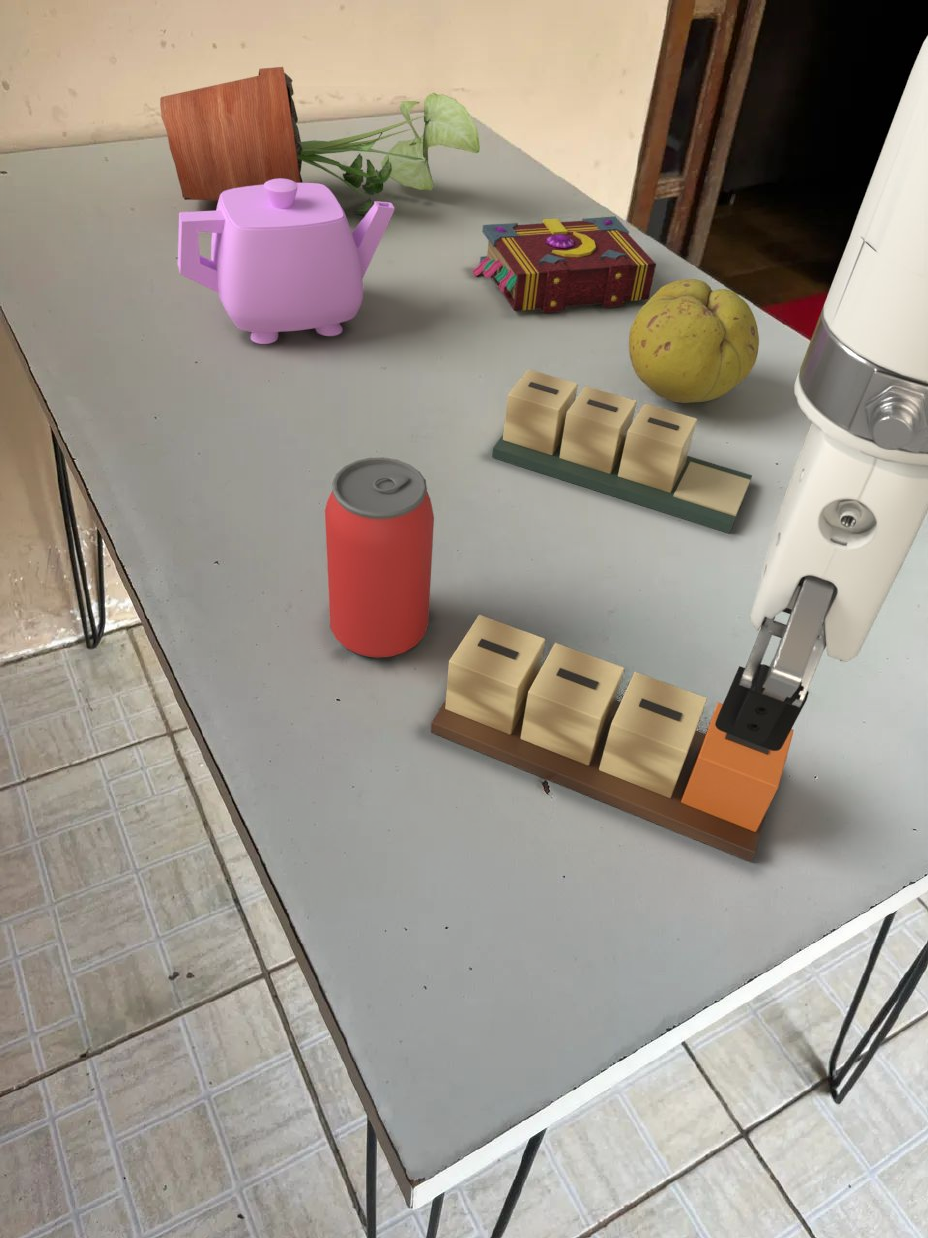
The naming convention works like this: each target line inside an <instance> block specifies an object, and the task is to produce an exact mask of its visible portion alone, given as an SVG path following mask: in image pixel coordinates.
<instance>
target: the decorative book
mask: <svg viewBox="0 0 928 1238" xmlns="http://www.w3.org/2000/svg"><path fill="white" fill-rule="evenodd" d="M481 232H482V233H483V235H484V236H485V238H486V239H487V240H488V241H487V251H486V252H487V253H486V256H480V257H479V265H477V266H476V267H475V268H473V269H472V270H471V272H472V274H473V275H474V276H475V277H477V276H479V275H480V274H481V273H482V274H483V276H484V278H485V279H486V280H487V279H490V280H492V279H493V281H494V283H495V284H496V285H497V287H498V288H499V290H500V292H501V293H502V295H503V296H504V298H505V299H506V301H507V302H508V303H509V305H510V307H511V308H512V310H513V311H514V312H521V311H533V310H540V311H542V313H546V314H547V313H558V312H563V310H564V308H566V307H577V306H578V307H579V306H588V305H589V306H590V305H601V306H602V307H603V308H612V307H613V308H614V307H623V305H624V303H625V302H635V301H646V300H647V301H648V300H650V296H651V295H650V294H651V289H652V285H653V280H654V277H655V276H654V275H655V270H656V266H657V263H656V262H655V261H654V260H653V259H652V257H650V256H649V255H648V253H647V252H646V251H645V250H644V249H643V248H642V247H641V246H640V245H639V244H638V243H637V242H636V240H635V239H634V238H633V237H632V236H631V234H630V231H629V229H628V228H627V227H626V226H625V225H624V224H623V223H622V222H621V221H620V220H619V219H618V217H617V216H615V215H614V216H601V217H600V216H599V217H588V218H581V220H573V221H560V220H559V219H558V218H544V219H542V223H527V224H519V223H518V222H509V223H507V222H506V223H493V224H482V231H481Z"/></svg>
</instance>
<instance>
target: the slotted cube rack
mask: <svg viewBox="0 0 928 1238" xmlns="http://www.w3.org/2000/svg"><path fill="white" fill-rule="evenodd" d="M578 386H579V384H578V383H577V382H574V381H570V380H566V379H564V378H561V377H557V376H553V375H549V374H546V373H543V372H539V371H536V370H532V369H527V370H526V371H525V372H524V374H523V375H522V376H521V377H520V379H519V380H518V381H517V382H516V384H515V385H514V386H513V387H512V389H511V390H509V392H508V394H507V398H506V407H505V417H504V427H503V433H502V436H500V438H499V439H498V440H497V441H496V443H495V444H494V446H493V447H492V452H491V453H492V455H491V458H493V459H495V460H499V461H502V462H506V463H508V464H511V465H514V466H517V467H521V468H524V469H527V470H530V471H533V472H536V473H539V474H542V475H546V476H550V477H552V478H556V479H558V480H562V481H565V482H568V483H571V484H574V485H577V486H579V487H583V488H585V489H590V490H593V491H596V492H598V493H601V494H605V495H608V496H611V497H614V498H617V499H620V500H624V501H627V502H629V503H633V504H636V505H639V506H642V507H645V508H647V509H652V510H655V511H657V512H661V513H664V514H667V515H670V516H673V517H675V518H676V517H678V518H680V519H684V520H686V521H689V522H692V523H695V524H698V525H701V526H705V527H708V528H711V529H714V530H716V531H717V530H718V531H720V532H724V533H727V534H730V533H731V530H732V527H733V526H734V524H735V521H736V518H737V516H738V514H739V511H740V508H741V507H742V503H743V501H744V499H745V497H746V495H747V492H748V490H749V487H750V484H751V481H752V478H753V475H752V474H749V473H746V472H743V471H739V470H736V469H733V468H729V467H726V466H723V465H719V464H716V463H713V462H709V461H706V460H703V459H699V458H697V457H694V456H690V455H689V452H690V448H691V444H692V441H693V437H694V434H695V430H696V426H697V424H698V418H697V417H693V416H689V415H686V414H682V413H679V412H676V411H672V410H669V409H666V408H663V407H660V406H659V407H658V406H655V405H652V404H649V403H643V405H642V406H641V408H640V410H639V411H638V413H637V414H636V416H635V413H636V407H637V403H638V401H637V400H636V399H631V398H628V397H625V396H621V395H618V394H614V393H611V392H608V391H604V390H601V389H598V388H594V387H591V386H587V385H585V386H584V387H583V389H582V390H581V391H580V393H579V394H578V395H577V393H578ZM634 417H635V418H634Z"/></svg>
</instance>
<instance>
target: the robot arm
mask: <svg viewBox="0 0 928 1238" xmlns="http://www.w3.org/2000/svg"><path fill="white" fill-rule="evenodd" d="M794 381H795V382H794V384H793V388H794V397H795V399H796V402H797V405H798V406H799V408H800V409H801V411H802V412H803V414H804V415H805V416H806V417H807V418H808V420H809V421H810V422H811V425H810V427H809V429H808V432H807V434H806V437H805V440H804V443H803V444H802V447H801V450H800V452H799V455H798V457H797V459H796V460H797V461H796V463H795V466H794V468H793V471H792V473H791V477H790V479H789V482H788V484H787V487H786V491H785V494H784V496H783V499H782V502H781V506H780V507H779V512H778V514H777V518H776V521H775V524H774V528H773V531H772V534H771V537H770V540H769V544H768V547H767V552H766V555H765V558H764V562H763V566H762V570H761V573H760V576H759V580H758V584H757V587H756V591H755V596H754V600H753V603H752V607H751V611H750V614H749V620H750V621H751V624H752V626H753V627H754V628H755V630H756V631H757V632H758V634H757V636H756V639H755V642H754V644H753V646H752V649H751V652H750V654H749V657H748V659H747V662H746V663H745V666H744V667H743V666H740V665H739V666H738V667H737V669H736V673H735V674H734V678H733V679H732V682H731V684H730V687H729V689H728V691H727V694H726V695H725V698H724V701H723V703H722V704H723V705H722V707H721V710H720V712H719V714H718V717H717V720H716V723H715V726H716V727H717V729H719V730H720V731H723V732H725V733H728V734H730V735H733V736H736V737H738V738H741V739H743V740H746V741H748V742H751V743H754V744H756V745H759V746H761V747H764V748H766V749H769V750H772V751H778V750H780V749H781V748H782V746H783V744H784V742H785V740H786V738H787V737H788V735H789V733H790V731H791V729H793V727H794V725H795V723H796V721H797V719H798V718H799V716H800V713H801V712H802V710H803V709H804V706H805V704H806V702H807V701H808V697H809V693H810V691H809V688H810V685H811V683H812V681H813V678H814V675H815V673H816V670H817V668H818V666H819V663H820V660H821V658H822V655H823V652H824V650H825V649H826V654H827V657H830V658H832V659H837V660H839V661H840V662H843V663H848V662H850V661H852V660H854V659H856V658H857V657H859V654H860V653H861V651H862V648H863V646H864V644H865V642H866V640H867V638H868V637H869V636H868V635H869V633H870V632H871V630H872V627H873V625H874V624H875V621H876V619H877V617H878V615H879V613H880V611H881V609H882V607H883V604H885V601H886V599H887V597H888V595H889V593H890V591H891V589H892V587H893V585H894V583H895V581H896V579H897V577H898V575H899V573H900V570H901V569H902V567H903V564H904V563H905V560H906V559H907V556H908V554H909V552H910V550H911V548H912V546H913V544H914V541H915V539H916V537H917V535H918V533H919V531H920V529H921V527H922V524H923V522H924V521H925V518H926V516H927V513H928V35H927V36H926V38H925V39H924V41H923V43H922V45H921V47H920V50H919V53H918V54H917V56H916V59H915V61H914V64H913V67H912V68H911V71H910V74H909V76H908V79H907V82H906V85H905V88H904V89H903V93H902V95H901V98H900V100H899V103H898V106H897V109H896V111H895V114H894V117H893V119H892V122H891V124H890V127H889V130H888V133H887V135H886V137H885V140H884V143H883V145H882V148H881V152H880V153H879V156H878V160H877V162H876V164H875V167H874V170H873V173H872V176H871V178H870V180H869V183H868V185H867V189H866V192H865V195H864V197H863V200H862V202H861V205H860V208H859V210H858V213H857V215H856V219H855V221H854V224H853V227H852V230H851V232H850V236H849V238H848V240H847V243H846V246H845V249H844V251H843V254H842V256H841V259H840V262H839V264H838V266H837V270H836V273H835V275H834V277H833V280H832V283H831V286H830V288H829V290H828V293H827V297H826V299H825V301H824V304H823V307H822V309H821V312H820V314H819V317H818V320H817V323H816V324H815V328H814V330H813V333H812V336H811V339H810V342H809V344H808V346H807V349H806V352H805V355H804V357H803V359H802V363H801V365H800V368H799V371H798V373H797V376H796V379H795V380H794ZM780 613H785V614H789V616H788V619H787V622H786V624H785V623H782V622H780V621H776V620H775V619H776V617H777V616H778V615H780ZM772 636H774V637H777V638H780V641H779V643H778V646H777V649H776V650H775V654H774V656H773V658H772V660H771V662H770V664H769V665H767V664H764V663H762V662H763V659H764V657H765V654H766V652H767V649H768V647H769V644H770V641H771V639H772Z"/></svg>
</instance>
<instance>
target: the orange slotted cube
mask: <svg viewBox="0 0 928 1238" xmlns="http://www.w3.org/2000/svg"><path fill="white" fill-rule="evenodd" d="M722 705H723V703H722V702H719V701H718V702H717V703H716V706H715V709H714V711H713V713H712V716H711V719H710V722H709V724H708V726H707V729H706V731H705V737H704V739H703V742H702V744H701V747H700V750H699V752H698V755H697V758H696V761H695V764H694V766H693V769H692V772H691V775H690V778H689V781H688V783H687V786H686V789H685V792H684V795H683V797H682V800H681V803H683V804H686V805H688V806H691V807H693V808H696V809H698V810H701V811H703V812H706V813H708V814H711V815H713V816H716V817H718V818H721V819H723V820H726V821H728V822H731V823H733V824H736V825H739V826H741V827H744V828H746V829H749V830H751V831H754V832H756V831H757V829H758V827H759V825H760V823H761V821H762V819H763V817H764V815H765V813H766V811H767V809H768V810H769V807H770V805H771V803H772V801H773V799H774V797H775V795H776V793H777V791H778V789H779V787H780V782H781V780H782V776H783V772H784V768H785V766H786V765H785V764H786V761H787V757H788V753H789V750H790V746H791V744H792V743H791V742H792V739H793V735H794V729H793V728H792V729H791V731H790V733H789V735H788V737H787V738H786V740H785V742H784V744H783V746H782V748H781V749H780V750H778V751H772V750H769V749H766V748H764V747H761V746H759V745H756V744H754V743H751V742H748V741H746V740H743V739H741V738H738V737H736V736H733V735H730V734H728V733H725V732H723V731H720V730H719V729H717V727H716V726H715V723H716V720H717V717H718V714H719V712H720V710H721V707H722ZM767 812H768V811H767Z"/></svg>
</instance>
